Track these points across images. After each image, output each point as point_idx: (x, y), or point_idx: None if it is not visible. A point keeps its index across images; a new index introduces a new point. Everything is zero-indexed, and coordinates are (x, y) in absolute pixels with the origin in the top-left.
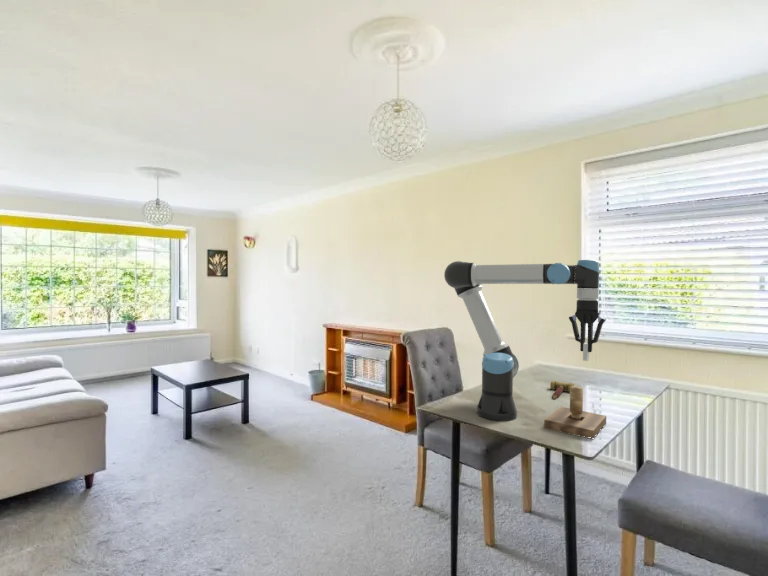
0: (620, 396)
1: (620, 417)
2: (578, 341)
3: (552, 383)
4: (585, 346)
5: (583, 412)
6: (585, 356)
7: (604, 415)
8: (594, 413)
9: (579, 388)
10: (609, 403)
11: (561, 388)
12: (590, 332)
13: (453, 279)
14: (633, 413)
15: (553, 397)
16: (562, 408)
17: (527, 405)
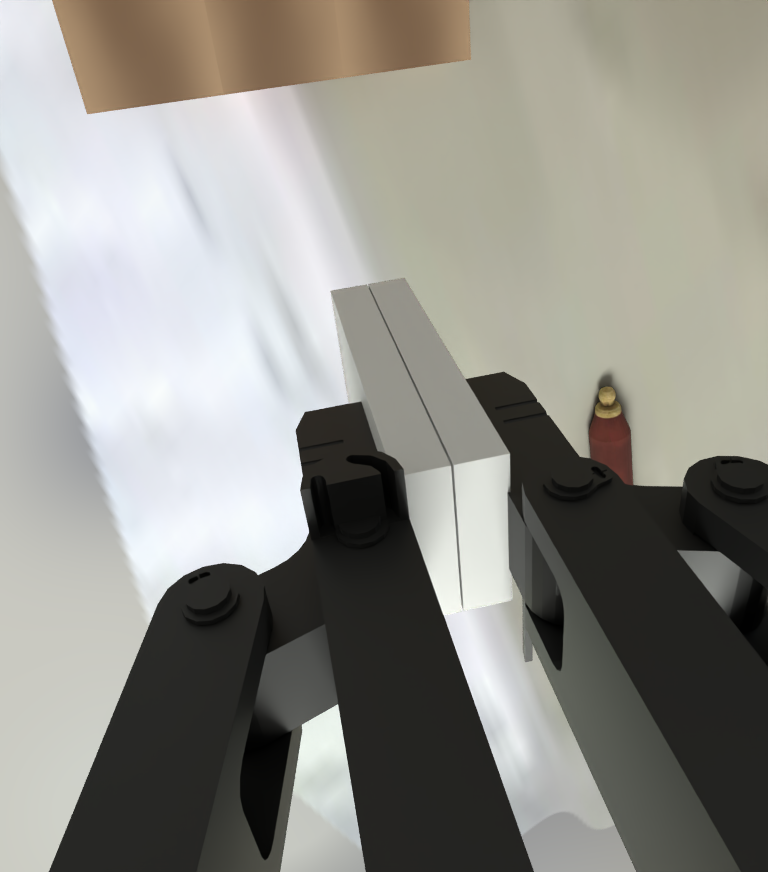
0: (323, 724)
1: (121, 359)
2: (665, 488)
3: None
4: (430, 424)
5: (263, 43)
6: (375, 316)
7: (102, 110)
8: (186, 99)
9: None
10: None
11: None
12: (401, 869)
13: None
14: (117, 506)
15: (612, 390)
16: (443, 7)
17: (731, 64)
